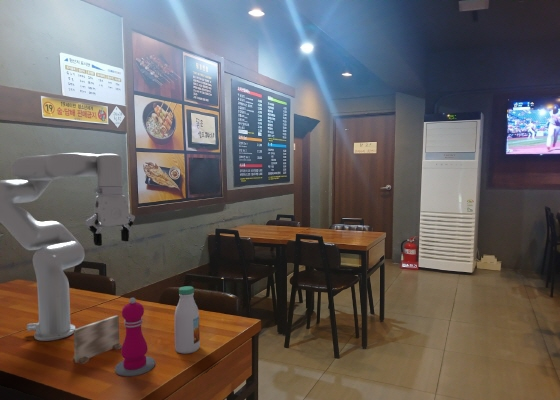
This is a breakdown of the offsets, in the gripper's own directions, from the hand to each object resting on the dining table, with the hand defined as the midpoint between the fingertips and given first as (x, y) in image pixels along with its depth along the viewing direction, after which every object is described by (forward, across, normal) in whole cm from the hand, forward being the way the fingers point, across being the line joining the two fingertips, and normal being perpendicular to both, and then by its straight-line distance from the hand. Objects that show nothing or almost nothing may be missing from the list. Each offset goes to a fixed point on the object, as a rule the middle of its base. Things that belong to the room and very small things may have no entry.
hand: (112, 243), depth 129 cm
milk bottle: (+34, +9, -25) cm, 43 cm away
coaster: (+33, -7, -21) cm, 40 cm away
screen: (+33, -8, -4) cm, 35 cm away
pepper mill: (+33, -7, -21) cm, 40 cm away
